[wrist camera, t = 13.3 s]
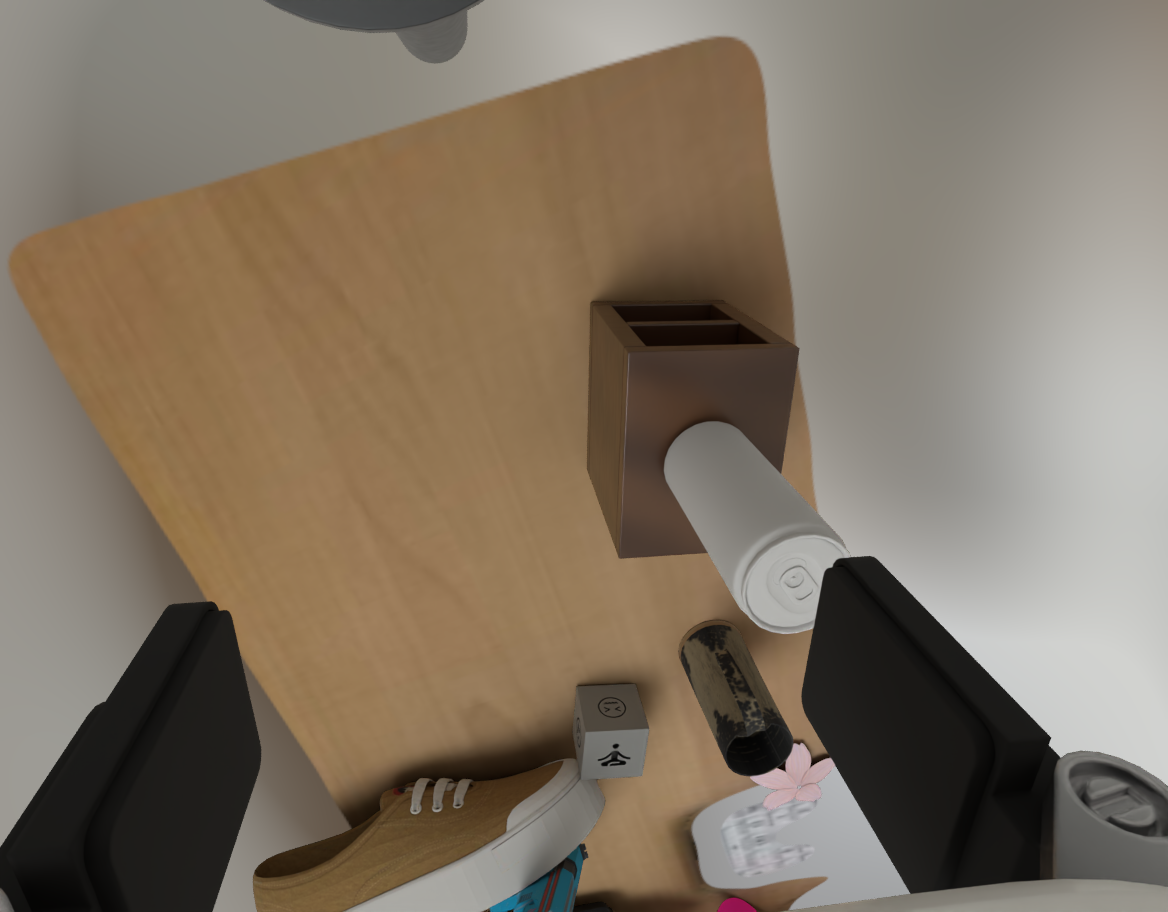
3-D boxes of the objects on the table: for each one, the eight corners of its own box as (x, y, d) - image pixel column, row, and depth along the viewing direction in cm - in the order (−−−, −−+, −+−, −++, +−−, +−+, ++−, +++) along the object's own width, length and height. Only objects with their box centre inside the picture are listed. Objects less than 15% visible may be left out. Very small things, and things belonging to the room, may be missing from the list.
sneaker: (613, 848, 52) (553, 722, 53) (260, 1025, 52) (207, 895, 53) (613, 796, 62) (563, 690, 63) (317, 944, 62) (272, 836, 63)
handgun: (432, 875, 66) (585, 822, 67) (440, 907, 65) (594, 854, 66) (336, 979, 44) (564, 900, 45) (346, 1031, 43) (578, 950, 44)
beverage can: (719, 399, 37) (824, 507, 26) (763, 464, 39) (878, 590, 28) (643, 453, 37) (716, 581, 26) (690, 514, 39) (776, 657, 28)
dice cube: (572, 732, 60) (580, 780, 56) (576, 686, 58) (585, 732, 54) (629, 729, 61) (642, 776, 57) (635, 683, 59) (649, 728, 55)
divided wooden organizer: (590, 301, 46) (628, 351, 35) (723, 300, 47) (800, 347, 36) (586, 469, 51) (618, 559, 40) (707, 463, 52) (770, 549, 41)
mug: (748, 662, 60) (809, 776, 49) (687, 683, 60) (735, 802, 49) (729, 590, 57) (790, 696, 46) (665, 612, 57) (711, 723, 46)
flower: (726, 819, 66) (721, 805, 67) (814, 834, 69) (807, 820, 70) (777, 742, 62) (770, 728, 64) (866, 761, 65) (858, 748, 67)
